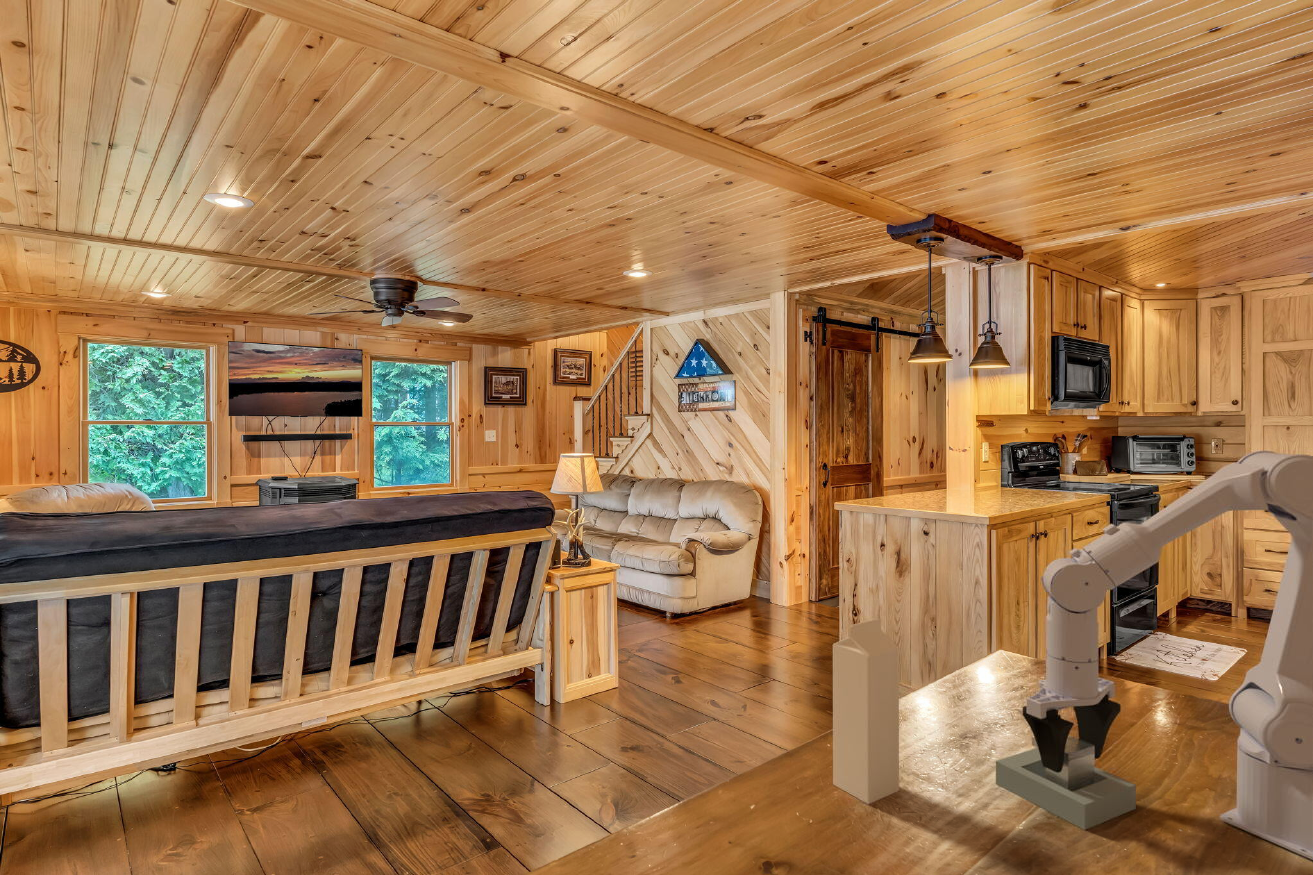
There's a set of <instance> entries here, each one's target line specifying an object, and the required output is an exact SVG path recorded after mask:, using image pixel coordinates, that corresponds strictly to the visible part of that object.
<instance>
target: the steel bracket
mask: <svg viewBox="0 0 1313 875" xmlns="http://www.w3.org/2000/svg"><path fill="white" fill-rule="evenodd" d="M1031 746H1033V747H1035V748H1038V746H1037V743H1036V740H1035V737H1034V736H1032V737H1031ZM1095 759H1096V758H1095V746H1094V745H1092V744H1089V743H1087V742H1085V741H1082V740H1080V739H1079V737H1075V736H1074V735H1070V734H1069V735H1068V738H1067V741H1066V746H1065V753H1064V763H1063V768H1062V771H1061V772H1059V773H1057V772H1054V771H1052V770H1050V769H1048V768H1046V779H1047V780H1049V781H1051V782H1053V783H1055V784H1057V785H1059V786H1061V787H1063V788H1065V789H1067V790H1069V791H1072V792H1073V791H1076V790H1079V789H1081V788H1084V787H1087V786H1089V785H1092V784H1094V767H1095Z"/></svg>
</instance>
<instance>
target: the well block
mask: <svg viewBox="0 0 1313 875" xmlns="http://www.w3.org/2000/svg"><path fill="white" fill-rule="evenodd" d="M995 784H996V785H998V786H1000V787H1001V788H1004V789H1006V790H1007V791H1009V792H1011V793H1013V794H1015V795H1017V796H1019V797H1021V798H1023V799H1024V800H1026V801H1029V802H1030V803H1032V804H1034V805H1035V806H1038V807H1039V808H1042V809H1044V810H1045V811H1048V812H1050V813H1051V814H1053V815H1055V816H1057V817H1059V818H1060V819H1062V820H1064V821H1066V822H1068V823H1071V824H1072V825H1073V826H1075V827H1078V828H1079V829H1082V830H1084V831H1086V830H1088V829H1091V828H1093V827H1095V826H1098V825H1101V824H1102V823H1105V822H1107V821H1109V820H1112V819H1115V818H1117V817H1119V816H1121V815H1124V814H1126V813H1129V812H1131V811H1133V810H1136V809H1137V808H1136V806H1137V804H1136V802H1137V796H1136V795H1137V785H1136V784H1135V783H1133V782H1130V781H1129V780H1126V779H1124V778H1121V777H1119V776H1117V775H1114V774H1112V773H1110V772H1108V771H1105V770H1103V769H1101V768H1099V767H1097V766H1094V784H1092V785H1089V786H1087V787H1084V788H1081V789H1079V790H1076V791H1073V792H1072V791H1069V790H1067V789H1065V788H1063V787H1061V786H1059V785H1057V784H1055V783H1053V782H1051V781H1049V780H1047V779H1046V767H1044V766H1043V764H1042V760H1041V757H1040V753H1039V749H1038V748H1037V747H1035V748H1032V749H1029V750H1026V751H1022V752H1019V753H1017V754H1014V755H1013V754H1012V755H1010V756H1007V757H1004V758H1001V759H998V760H995Z"/></svg>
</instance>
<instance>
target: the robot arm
mask: <svg viewBox="0 0 1313 875" xmlns="http://www.w3.org/2000/svg"><path fill="white" fill-rule="evenodd" d="M1230 511H1266V512H1269V513H1270V514H1271V516H1273V517H1274V519H1275V520H1276V521H1278V523H1279V524H1280V525H1281V526H1282V527H1283V528H1284V529H1285V530H1286V531H1287V532H1288V533H1289V534H1290V536H1291V539H1290V545H1289V548H1288V552H1287V556H1286V559H1285V563H1284V567H1283V572H1282V576H1281V579H1280V582H1279V587H1278V592H1277V595H1276V599H1275V602H1274V606H1273V611H1272V614H1271V618H1270V622H1269V627H1268V630H1267V634H1266V635H1267V636H1266V638H1265V642H1264V645H1263V646H1264V647H1263V650H1262V654H1261V658H1260V662H1259V663H1258V664H1256V665H1255V666H1253V667H1251V668H1250V669H1248V670H1247V671H1246V673H1245V678H1244V680H1243V683H1242V684H1241V685H1240V686H1239V688H1237V689H1236V690H1235V691H1234V692H1233V694H1232V695H1231V696H1230V699H1229V702H1228V708H1229V710H1228V711H1229V713H1230V716H1231V718H1232V720H1233V721H1234V722H1235V724H1237V726H1238V727H1240V730H1239V731H1240V733H1239V736H1238V738H1237V742H1236V743H1237V744H1236V745H1237V751H1236V753H1237V756H1236V758H1237V759H1236V761H1237V762H1236V763H1237V764H1236V806H1235V808H1232V809H1230V810H1228V811H1226V812H1223V813H1222V814H1220V815H1219V819H1220V820H1221V821H1222V822H1225V823H1228V824H1229V825H1231V826H1234V827H1235V828H1238V829H1241V830H1244V831H1245V832H1247V833H1250V834H1252V835H1255V836H1257V837H1259V838H1261V839H1263V840H1265V841H1266V840H1267V841H1268V842H1270V843H1273V844H1275V845H1278V846H1280V847H1282V848H1284V849H1287V850H1289V851H1291V852H1294V853H1295V854H1297V855H1300V856H1303V857H1305V858H1307V859H1310V860H1311V861H1313V455H1310V454H1296V453H1295V454H1290V453H1289V454H1288V453H1278V452H1275V451H1271V450H1270V451H1269V450H1258V451H1257V450H1256V451H1253V452H1250V453H1247V454H1245V455H1244V456H1242V457H1241V458H1240V459H1239V460H1237V462H1231V463H1229V464H1227V465H1225V466H1222V467H1221V468H1220V469H1219V470H1217V471H1216V472H1214V473H1213V474H1212V475H1210V476H1209V477H1208V478H1207V479H1205V480H1203V481H1202V482H1201V483H1199V484H1198V485H1197V486H1195V487H1194V488H1192V489H1191V490H1189V491H1188V492H1186V493H1185V494H1183V495H1181V496H1180V497H1179V498H1177V499H1176V500H1175V501H1173V502H1171V503H1170V504H1169V505H1166V506H1165V507H1164V508H1162V509H1161V510H1160V511H1158V512H1156V514H1154V515H1152V516H1151V517H1149V518H1148V519H1147V520H1145V521H1143V522H1142V523H1139V524H1138V523H1130V522H1122V523H1120V524H1119V525H1115V524H1113V523H1110V524H1108V525H1106V526H1105V527H1104V528H1103V529H1102V531H1103V532H1104V534H1102V535H1101V536H1099V537H1098V538H1095V539H1094V540H1093V541H1091V542H1090V543H1088V544H1086V545H1084V546H1083V547H1081V548H1080V549H1078V548H1076V547H1075V548H1073V549H1071V550H1070V551H1069V552H1068V554H1069V555H1070V556H1071V557H1065V558H1064V557H1061V558H1057V559H1054V560H1053V561H1052V562H1050V563H1049V564H1047V566H1046V568H1045V570H1044V572H1043V575H1042V576H1040V582H1041V585H1042V587H1043V589H1044V590H1045V592H1046V593H1047V594H1048V596H1047V600H1046V601H1047V604H1046V612H1047V614H1046V616H1045V679H1041V680H1038V686H1039V689H1038V690H1037V691H1036V692H1035V693H1034V694H1033V695H1032V696H1028V697H1026V705H1024V706H1023V707H1022V717H1024V719H1025V721H1026V722H1027V724H1028V726H1029V728H1030V729H1031V732H1032V734H1033V737H1035V740H1036V743H1037V746H1038V749H1039V753H1040V757H1041V760H1042V764H1043V766H1044V767H1046V768H1048V769H1050V770H1052V771H1054V772H1057V773H1059V772H1061V771H1062V768H1063V763H1064V753H1065V746H1066V741H1067V738H1068V735H1070V732H1071V730H1072V729H1073V727H1074V725H1075V724H1074V722H1073V721H1070V720H1067V719H1064V718H1062V715H1061V714H1059V711H1061V710H1064V709H1067V708H1070V707H1073V710H1074V712H1075V713H1074V714H1075V717H1076V718H1075V719H1076V723H1077V730H1078V731H1077V732H1078V739H1080V740H1082V741H1085V742H1087V743H1089V744H1092V745H1094V746H1095V758H1094V759H1096V760H1098V759H1100V758H1101V757H1102V756H1101V755H1102V752H1103V749H1104V746H1105V743H1106V739H1107V735H1108V733H1109V731H1110V728H1111V727H1112V725H1113V722H1114V721H1115V719H1116V717H1117V716H1118V715H1119V714H1120V713H1121V710H1122V708H1121V707H1122V706H1121V704H1120V703H1118V702H1117V701H1113V700H1110V699H1113V698H1115V697H1116V695H1115V693H1116V690H1115V689H1116V688H1115V682H1114V681H1111V680H1108V679H1106V678H1102V677H1099V622H1098V608H1099V607H1100V606H1102V604H1103V602H1104V600H1105V599H1106V597H1107V596H1106V595H1107V591H1109V590H1110V591H1112V590H1113V589H1115V588H1116V587H1118V586H1120V585H1122V584H1124V583H1125V582H1127V581H1129V580H1130V579H1132V578H1133V577H1135V576H1137V575H1138V574H1140V573H1143V571H1145V570H1147V569H1149V568H1151V567H1152V566H1154V565H1155V564H1157V563H1159V562H1160V558H1161V553H1162V549H1163V547H1164V546H1166V545H1167V544H1169V543H1171V542H1173V541H1174V540H1177V539H1178V538H1180V537H1182V536H1184V535H1185V534H1188V533H1189V532H1192V531H1193V530H1196V529H1197V528H1200V527H1201V526H1203V525H1205V524H1207V523H1208V522H1210V521H1213V520H1214V519H1216V518H1218V517H1219V516H1221V515H1223V514H1225V513H1227V512H1230Z"/></svg>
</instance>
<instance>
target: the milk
mask: <svg viewBox="0 0 1313 875" xmlns="http://www.w3.org/2000/svg"><path fill="white" fill-rule="evenodd" d="M899 648H900V647H898V645H897V644H896V643H895V642H894V641H893V640H892V639H891V638H890V637H889V636H888V635H887V634H886V633H885V632H884V630H882V620H881V618H874V619H872V620H871V619H870V620H867V621H862V622H859V623H854V624H851V625H850V626H849V637H848V636H847V637H846V638H844V639H841V640H839V641H837V642H835V643H833V644H832V760H833V761H832V765H833V766H832V768H833V770H832V775H833V776H832V777H833V778H832V780H833V782H832V784H833V786H835V787H837V788H838V789H840V790H843V791H844V792H846V793H847V794H848V795H851V796H852V797H853V798H856V799H858V800H860V801H861V802H863V803H865V804H867V805H870V804H873V803H874V802H877V801H879V800H881V799H883V798H886V797H888V796H890V795H894V794H895V793H897V792H899V791H900V728H899V727H900V649H899Z"/></svg>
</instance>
